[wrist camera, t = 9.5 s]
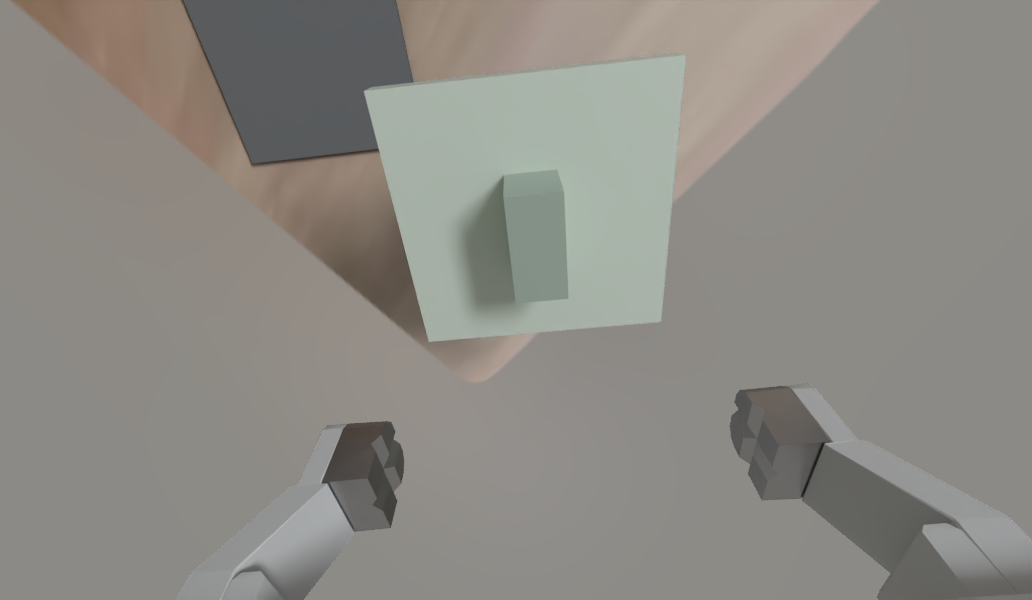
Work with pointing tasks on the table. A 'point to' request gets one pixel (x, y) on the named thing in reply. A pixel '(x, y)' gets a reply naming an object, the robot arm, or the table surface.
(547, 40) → the table surface
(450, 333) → the lid
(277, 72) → the mat
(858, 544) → the robot arm
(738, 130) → the table surface
